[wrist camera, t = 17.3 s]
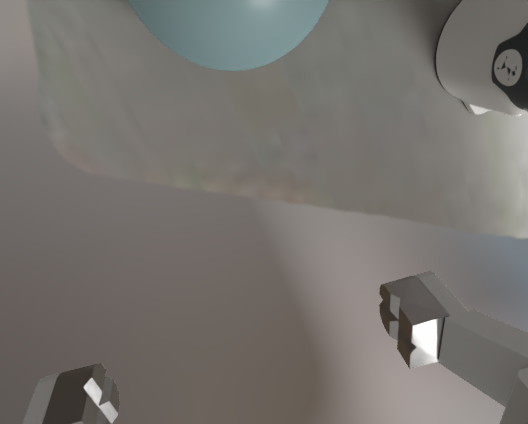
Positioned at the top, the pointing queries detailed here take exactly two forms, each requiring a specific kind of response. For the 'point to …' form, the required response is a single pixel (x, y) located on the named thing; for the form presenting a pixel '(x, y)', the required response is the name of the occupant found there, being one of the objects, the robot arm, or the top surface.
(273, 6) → the cover
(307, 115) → the top surface
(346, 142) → the top surface
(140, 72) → the top surface
